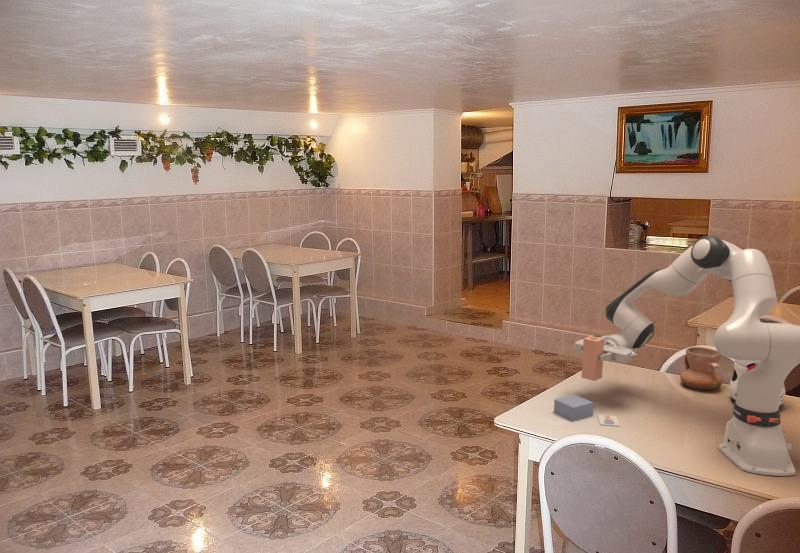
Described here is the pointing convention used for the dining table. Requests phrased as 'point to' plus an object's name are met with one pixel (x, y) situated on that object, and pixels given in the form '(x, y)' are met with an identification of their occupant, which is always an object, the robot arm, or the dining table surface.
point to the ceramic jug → (701, 368)
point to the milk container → (739, 369)
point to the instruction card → (608, 420)
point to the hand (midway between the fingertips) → (591, 355)
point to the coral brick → (592, 358)
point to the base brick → (573, 407)
